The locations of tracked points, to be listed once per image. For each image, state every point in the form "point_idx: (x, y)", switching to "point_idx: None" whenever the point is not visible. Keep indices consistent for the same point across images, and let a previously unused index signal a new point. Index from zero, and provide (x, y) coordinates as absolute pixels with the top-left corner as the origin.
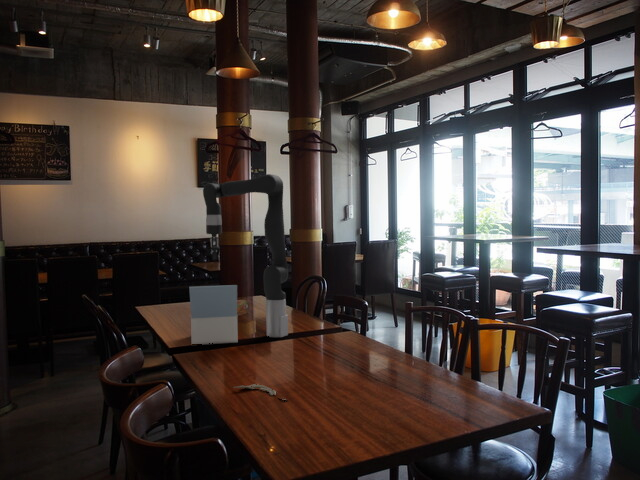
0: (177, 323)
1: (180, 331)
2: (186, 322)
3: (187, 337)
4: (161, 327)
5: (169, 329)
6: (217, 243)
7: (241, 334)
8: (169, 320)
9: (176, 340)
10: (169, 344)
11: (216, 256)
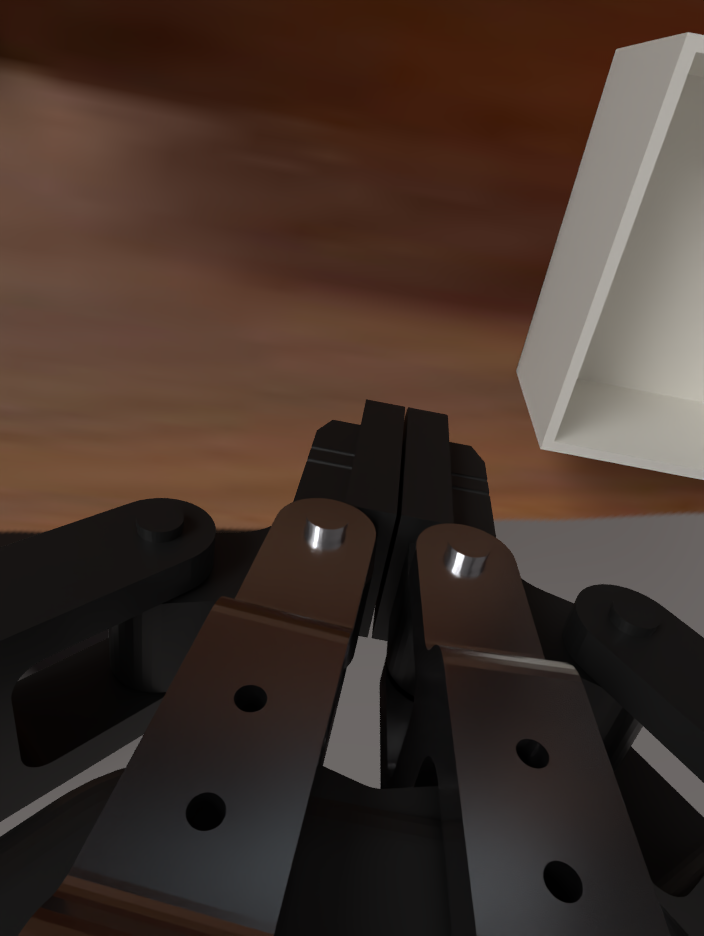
0: (113, 409)
1: (358, 424)
2: (93, 354)
3: None
4: (206, 502)
5: (276, 471)
6: (631, 863)
7: (684, 10)
8: (9, 441)
9: (585, 473)
10: (657, 514)
11: (449, 457)
